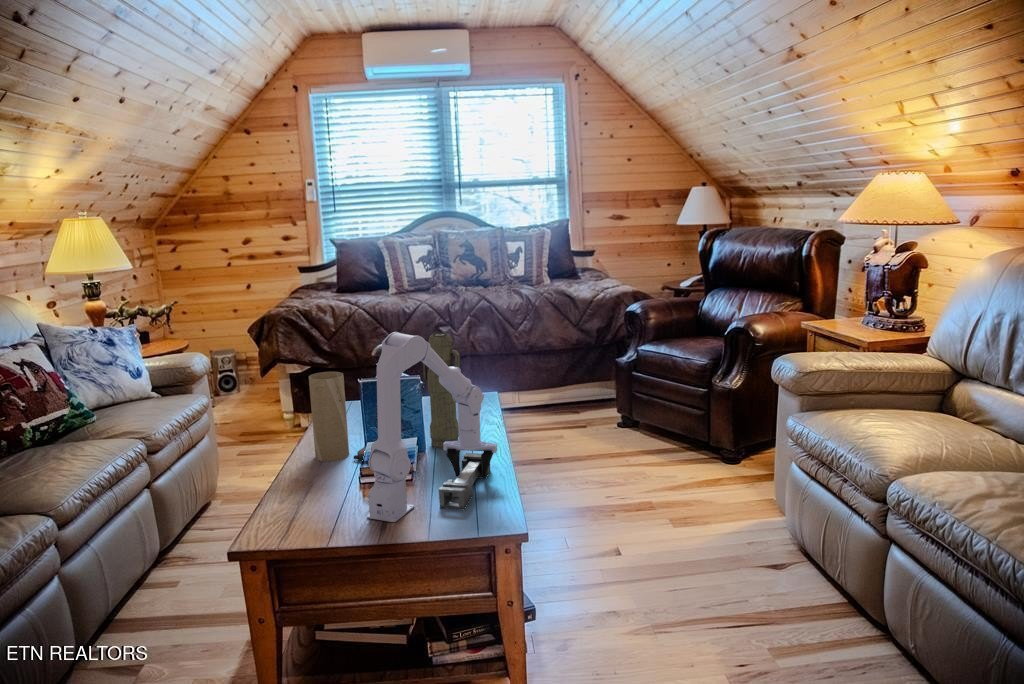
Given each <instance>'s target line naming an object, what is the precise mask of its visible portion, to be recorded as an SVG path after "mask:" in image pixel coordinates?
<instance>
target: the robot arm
mask: <svg viewBox="0 0 1024 684" xmlns="http://www.w3.org/2000/svg"><path fill="white" fill-rule="evenodd" d="M428 342H429V341H426V340H425V338H424V337H422V336H420V335H411V334H406V333H401V332H398V331H393V332H391V333H390V334H388V335H387V336H386V337H385V338H384V339H383V340H382V341H381V352H380V353H381V354H380V356H379V359H378V362H377V365H376V398H377V399H376V400H377V401H376V404H377V407H376V408H377V411H376V412H377V440H375V441H373V443H371V453H370V456H369V460H368V462H367V463H368V467H369V469H370V470H371V471H373V476H374V477H375V478H374V479H375V480H374V483H373V485H372V487H371V488H370V489H369V491H368V496H367V497H368V498H367V499H368V508H369V510H368V512H369V513H368V514H367V515H366V518H367V519H371V520H378V521H383V522H389V523H390V522H391V523H396V522H397V521H399V520H400V519H401V518H402V517H403V516H405V515H407V513H409V512H410V511H411V510H412V509H414V508H415V505H414V504H410V503H408V501H407V500H408V499H407V484H406V483H407V482H406V481H407V480H406V479H407V476H408V475H409V473H410V472H411V471H410V470H411V468H412V466H411V463H412V462H411V459H410V458H409V455H408V454H409V453H408V447H407V446H406V444H405V442H404V441H403V440H402V412H401V411H402V409H401V408H402V407H401V405H402V403H401V399H402V398H401V375H402V374H403V373H404V372H405V371H406V370H408V369H410V368H411V367H413V366H415V365H416V364H417V363H419V362H421V363H422V364H423V363H424V364H425V365H426V366H427V368H428V369H429V368H430V369H431V370H432V371H434V372H435V373H436V374H437V375H438V376H439V383H440V384H441V385H442V386H443V387H444V388H445V389H446V390H448V391H449V392H450V393H451V394H452V398H453V400H454V402H456V404H457V415H458V416H457V418H458V419H457V421H458V426H459V437H458V441H445V442H444V443H443V449H442V450H443V451H447V452H446V453H445V454H446V457H447V459H448V460H449V462H450V464H451V466H452V468H453V471H454V475H455V477H456V478H457V477H458V476H459V475H460V474H461V466H460V465H461V464H460V458H461V456H460V455H461V454H460V453H461V451H467V452H469V451H471V452H482V453H481V454H482V455H481V458H482V465H483V478H482V479H487V478H486V477H488V476H487V473H488V468H489V464H490V465H491V460H492V458H493V455H494V454H495V453H497V451H498V443H492V442H486V441H482V440H481V439H482V438H481V420H480V419H481V416H480V413H481V410H482V403H483V401H484V397H485V394H484V393H483V391H482V389H481V388H480V386H479V385H474V384H472V380H471V379H470V378H468V377H466V376H465V375H464V374H463V373H462V369H461V367H460V368H458V367H455V366H454V367H453V366H450V367H448V366H447V365H446V363H445V362H444V361H443V360H442V359H441V358H440V357H439V356H438V355H437V353H436V352H435V351H434V350H433V349H432V348H431V346H430V343H428Z"/></svg>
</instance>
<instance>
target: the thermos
mask: <svg viewBox="0 0 1024 684" xmlns="http://www.w3.org/2000/svg"><path fill="white" fill-rule="evenodd" d="M427 342H428V343H430V346H431V348H432V349H433V350H434V351H435V352H436V353H437V355H438V356H439V357H440V358H441V359H442V360H443V361H444V362H445V363H446V365H447V366H448V367H450V366H453V367H458V368H460V369H461V360H460V359H461V355H460V353H459V351H458V350H457V349H454V346H453V339H452V338H451V335H450V334H449V333H446V332H438V333H432V334H431V335H430V336H429V338H428V341H427ZM453 361H454V362H453ZM422 372H423V373H422V374H423V375H422V376H423V380H424V383H426V384H427V391H428V392H429V399H430V401H429V402H430V404H429V405H430V424H429V433H430V434H429V435H430V436H429V437H430V439H431V441H430V442H431V443H430V444H431V445H432V446H433V447H432V446H431V447H432V448H434V447H435V449H438V450H440V449H441V450H443V443H444V442H445V441H459V421H458V419H457V406H456V404H457V402H454V400H453V398H452V394H451V393H450V392H449V391H448V390H446V389H445V388H444V387H443V386H442V385H441V384H440V383H439V376H438V375H437V374H436V373H435V372H434V371H432V370H431V369H430V368H429V367H428V366H426V365H425V364H424V363H423V362H422Z"/></svg>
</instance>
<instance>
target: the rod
mask: <svg viewBox="0 0 1024 684" xmlns="http://www.w3.org/2000/svg"><path fill="white" fill-rule="evenodd" d="M481 462H482V460H471V461H470V462H469V463H468V464H467V466H466V467H465V468H464V470H463V471H462V470H461V471H460V475H459V476H458V477H456V479H455V480H453V482H454V483H466V482H467V480H469V481H472V485H474V483H475V481H476V480H477V479H478V478H477V477H478V476H479V474H480V473H481V471H482V463H481ZM452 488H460V487H452ZM452 497H459V494H458V493H454V492H452Z"/></svg>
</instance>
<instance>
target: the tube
mask: <svg viewBox="0 0 1024 684" xmlns="http://www.w3.org/2000/svg"><path fill="white" fill-rule="evenodd" d="M344 379H345V378H344V373H343V372H339V371H322V372H316V373H312V374H310V375H309V376H308V385H309V398H310V408H311V409H310V410H311V419H312V420H311V421H312V431H313V445H314V455H315V460H317V461H319V460H320V462H324V461H326V462H327V461H331V462H337V460H338V461H341V459H342V460H344V459H346V458H348V457H349V456H348V455H350V446H349V445H350V443H349V433H348V431H349V430H348V420H347V419H348V418H347V405H346V403H347V402H346V391H345V380H344ZM326 462H325V463H326Z"/></svg>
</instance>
